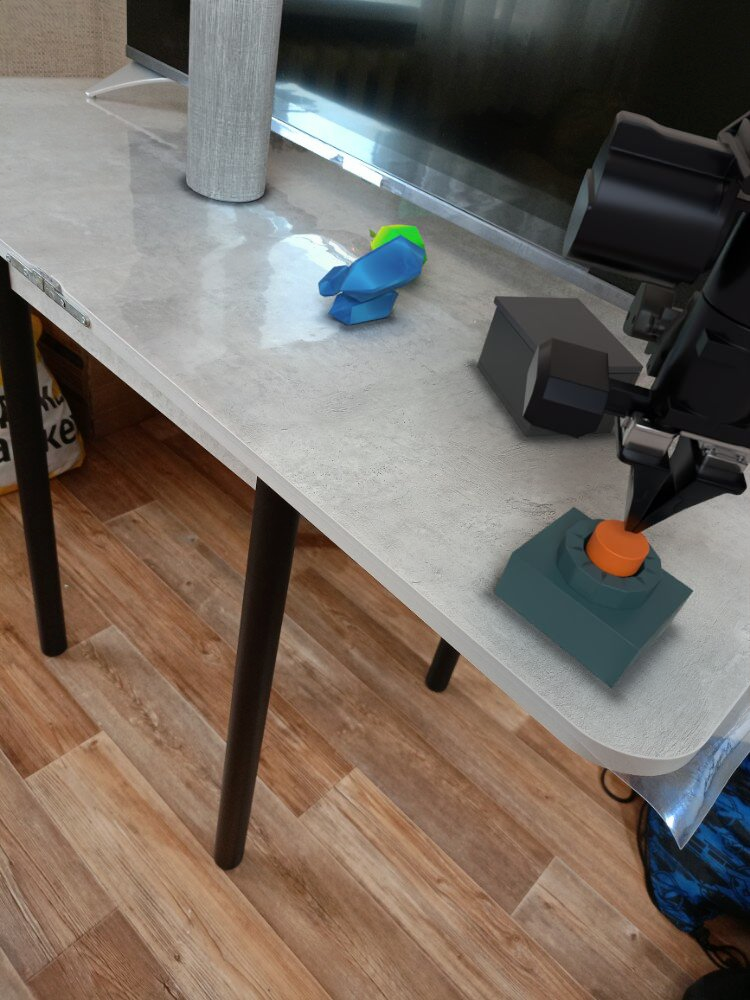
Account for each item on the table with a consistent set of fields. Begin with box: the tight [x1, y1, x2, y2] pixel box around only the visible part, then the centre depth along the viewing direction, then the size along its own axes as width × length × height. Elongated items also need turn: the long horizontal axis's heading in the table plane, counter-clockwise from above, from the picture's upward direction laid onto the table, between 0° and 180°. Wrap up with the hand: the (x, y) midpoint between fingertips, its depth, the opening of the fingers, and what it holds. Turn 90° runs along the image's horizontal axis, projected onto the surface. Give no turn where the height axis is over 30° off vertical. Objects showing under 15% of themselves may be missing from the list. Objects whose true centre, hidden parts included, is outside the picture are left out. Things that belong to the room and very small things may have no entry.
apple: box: [368, 223, 428, 268], centre depth 87 cm, size 7×6×9 cm
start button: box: [586, 519, 650, 577], centre depth 49 cm, size 4×4×2 cm
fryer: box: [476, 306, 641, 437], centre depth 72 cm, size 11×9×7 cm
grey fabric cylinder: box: [185, 0, 284, 203], centre depth 88 cm, size 10×10×27 cm
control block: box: [493, 506, 694, 689], centre depth 52 cm, size 10×8×6 cm
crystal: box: [317, 235, 426, 326], centre depth 77 cm, size 7×9×12 cm
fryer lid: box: [493, 295, 644, 374], centre depth 70 cm, size 12×9×1 cm
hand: (629, 527), depth 48 cm, fingers closed
